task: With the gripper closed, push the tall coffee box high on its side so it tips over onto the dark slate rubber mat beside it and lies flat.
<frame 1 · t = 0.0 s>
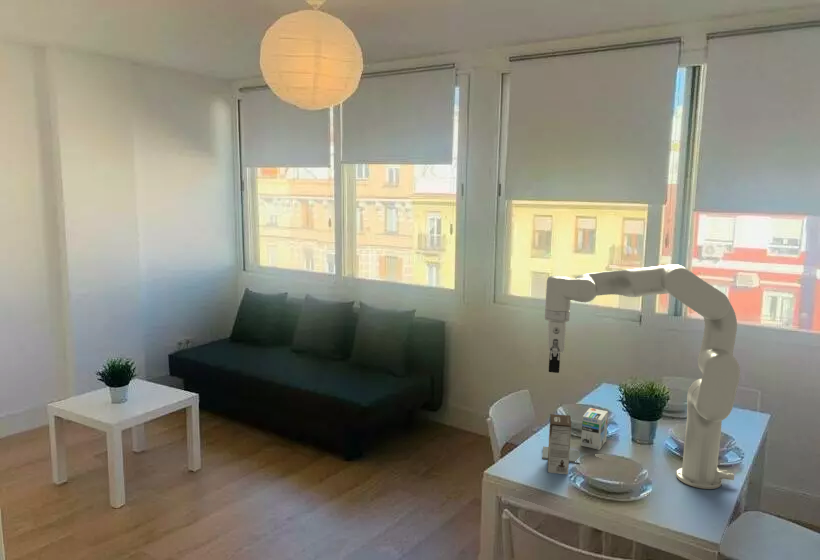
hand: (554, 368, 193), 31 cm above the table, tool pointing down, fingers open, 9 cm apart
coffee box: (557, 468, 193), on the table
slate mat: (561, 455, 202), on the table
light bulb box: (593, 443, 213), on the table
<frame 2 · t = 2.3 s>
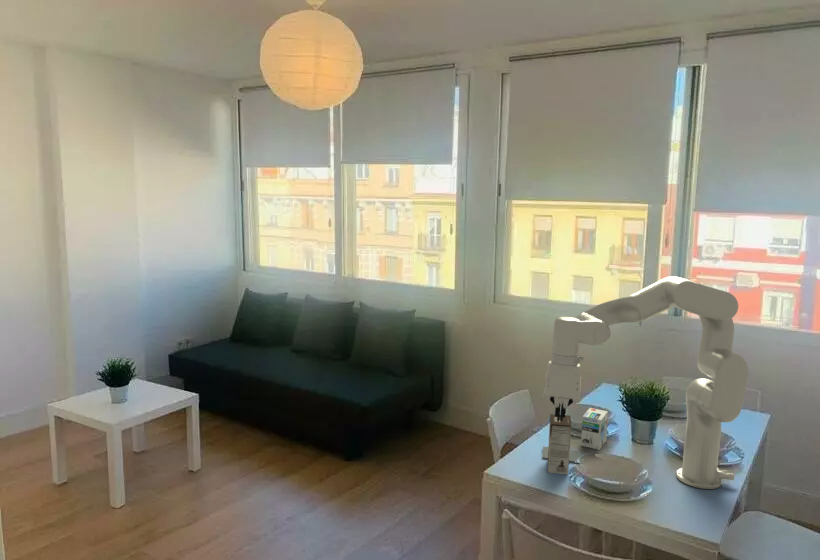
hand: (559, 419, 180), 20 cm above the table, tool pointing down, fingers closed
nothing on the table moved.
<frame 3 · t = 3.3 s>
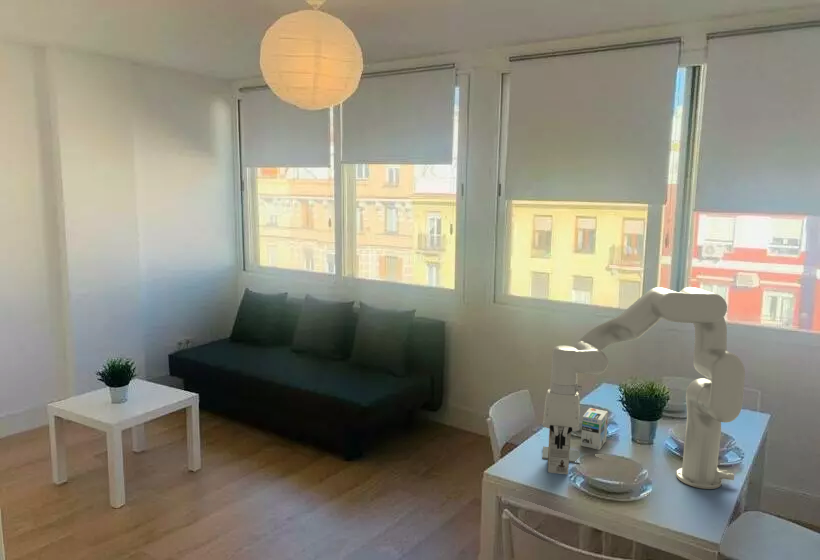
hand: (559, 447, 181), 11 cm above the table, tool pointing down, fingers closed
nothing on the table moved.
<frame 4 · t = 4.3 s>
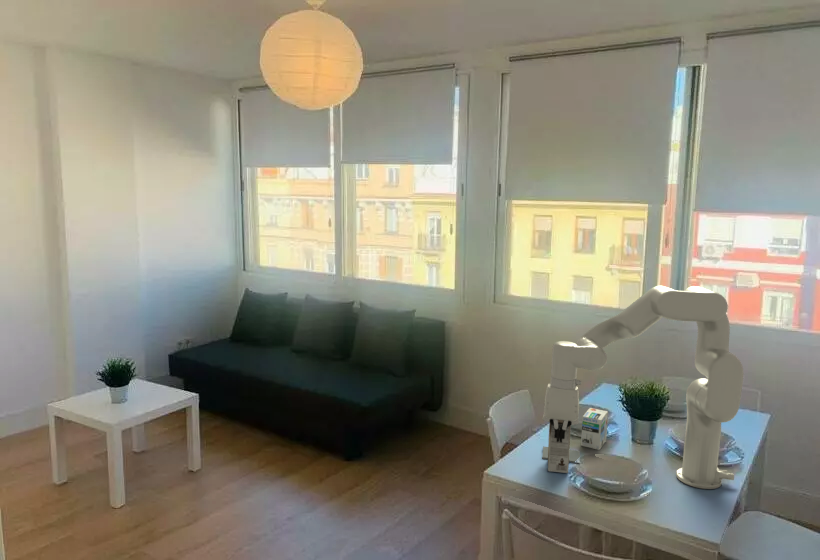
hand: (559, 440, 186), 11 cm above the table, tool pointing down, fingers closed
coffee box: (557, 467, 193), on the table, touching gripper
everything else where it was.
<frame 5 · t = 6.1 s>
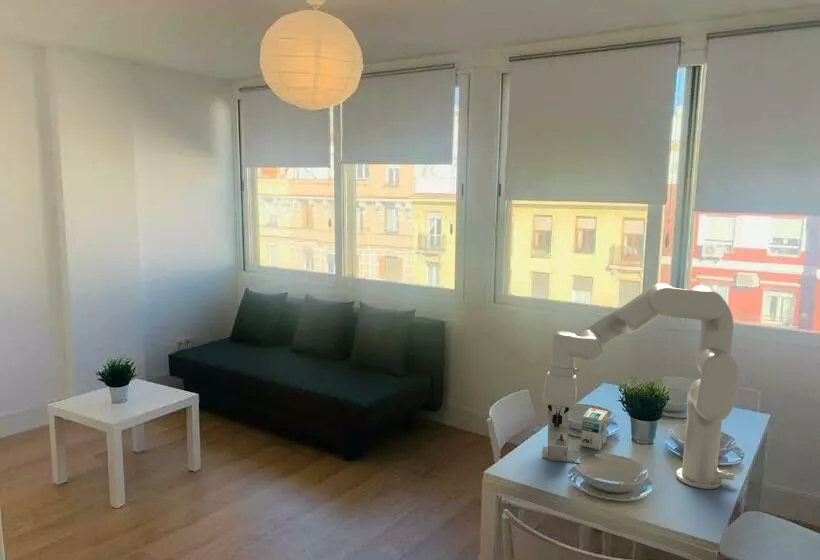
hand: (556, 425, 195), 12 cm above the table, tool pointing down, fingers closed
coffee box: (557, 454, 194), point 4 cm above the table, touching gripper, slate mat
everything else where it was.
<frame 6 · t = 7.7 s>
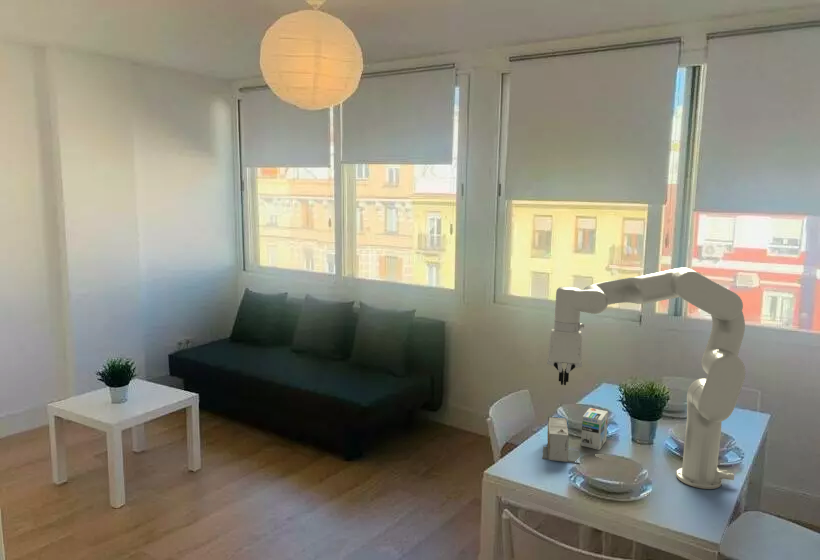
hand: (563, 383, 191), 27 cm above the table, tool pointing down, fingers closed
coffee box: (558, 447, 195), point 5 cm above the table, touching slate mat
everything else where it was.
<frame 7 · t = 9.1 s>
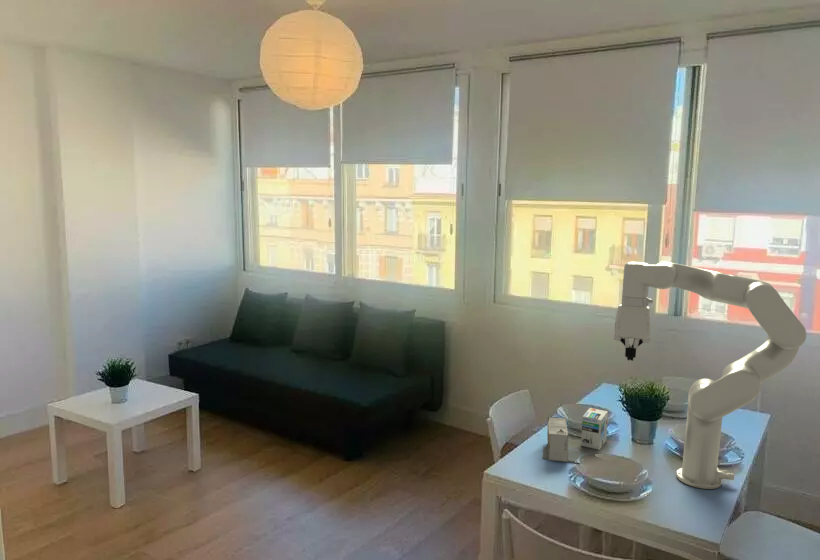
hand: (630, 359, 191), 35 cm above the table, tool pointing down, fingers closed
nothing on the table moved.
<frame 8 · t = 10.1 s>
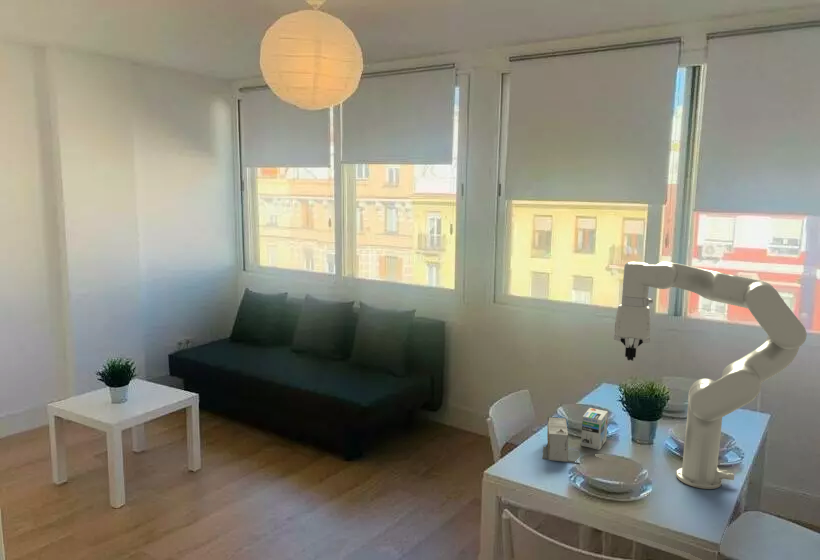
hand: (630, 359, 191), 35 cm above the table, tool pointing down, fingers closed
nothing on the table moved.
at the end: coffee box tilted 91°; coffee box touching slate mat; coffee box inside the target area (0.7 cm from its centre), point 5.2 cm above the table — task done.
